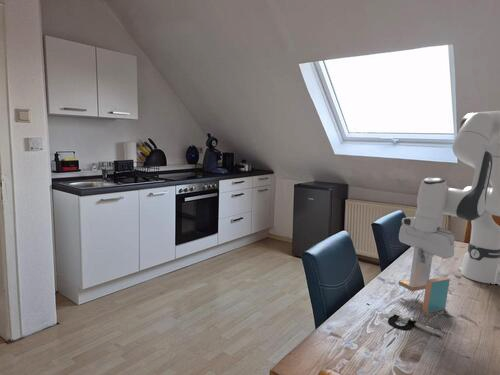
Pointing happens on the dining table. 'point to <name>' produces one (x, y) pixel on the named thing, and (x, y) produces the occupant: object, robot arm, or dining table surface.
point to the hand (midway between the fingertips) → (422, 262)
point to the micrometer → (412, 325)
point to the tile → (435, 294)
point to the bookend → (418, 272)
